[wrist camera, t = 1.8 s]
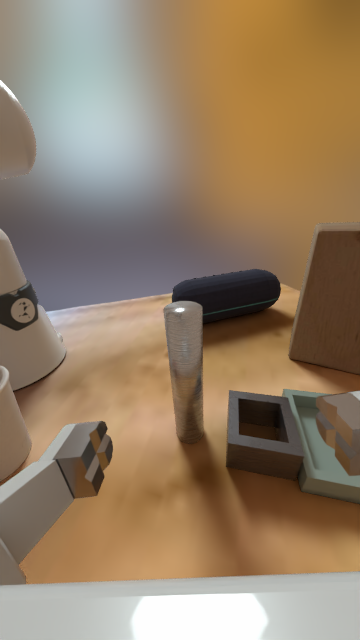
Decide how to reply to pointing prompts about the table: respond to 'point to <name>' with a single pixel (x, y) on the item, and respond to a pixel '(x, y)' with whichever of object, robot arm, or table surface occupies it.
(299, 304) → the wooden block
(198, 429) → the steel pin
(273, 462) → the hollow square frame
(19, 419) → the dixie cup
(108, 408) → the table surface
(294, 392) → the tray
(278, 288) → the portable speaker
